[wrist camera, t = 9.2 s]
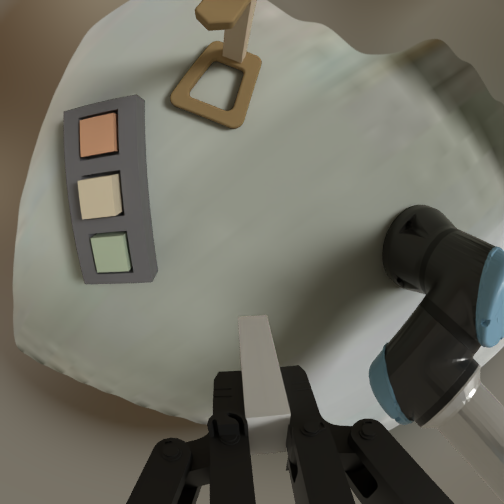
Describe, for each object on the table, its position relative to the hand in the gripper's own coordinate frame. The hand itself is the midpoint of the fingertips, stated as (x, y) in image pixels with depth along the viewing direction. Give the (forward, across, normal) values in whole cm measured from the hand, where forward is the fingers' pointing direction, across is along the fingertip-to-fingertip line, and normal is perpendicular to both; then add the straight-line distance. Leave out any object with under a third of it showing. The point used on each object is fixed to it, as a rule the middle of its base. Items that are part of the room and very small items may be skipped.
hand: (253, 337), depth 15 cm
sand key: (+23, +18, -6) cm, 30 cm away
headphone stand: (+27, +2, -20) cm, 33 cm away
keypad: (+26, +18, -6) cm, 32 cm away
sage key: (+25, +18, +2) cm, 30 cm away
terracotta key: (+25, +18, -14) cm, 33 cm away
